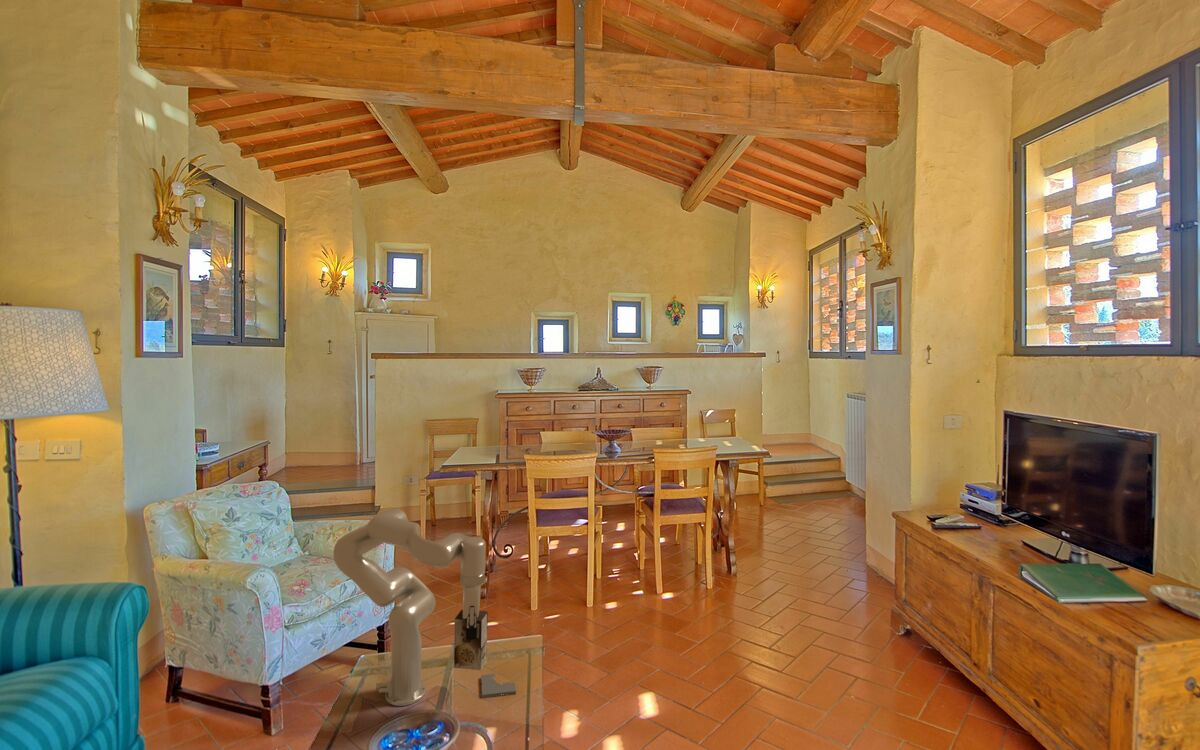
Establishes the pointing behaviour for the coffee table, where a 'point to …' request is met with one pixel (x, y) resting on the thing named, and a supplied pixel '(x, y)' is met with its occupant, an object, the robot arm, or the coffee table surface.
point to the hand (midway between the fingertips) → (471, 631)
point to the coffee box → (470, 643)
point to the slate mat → (495, 687)
